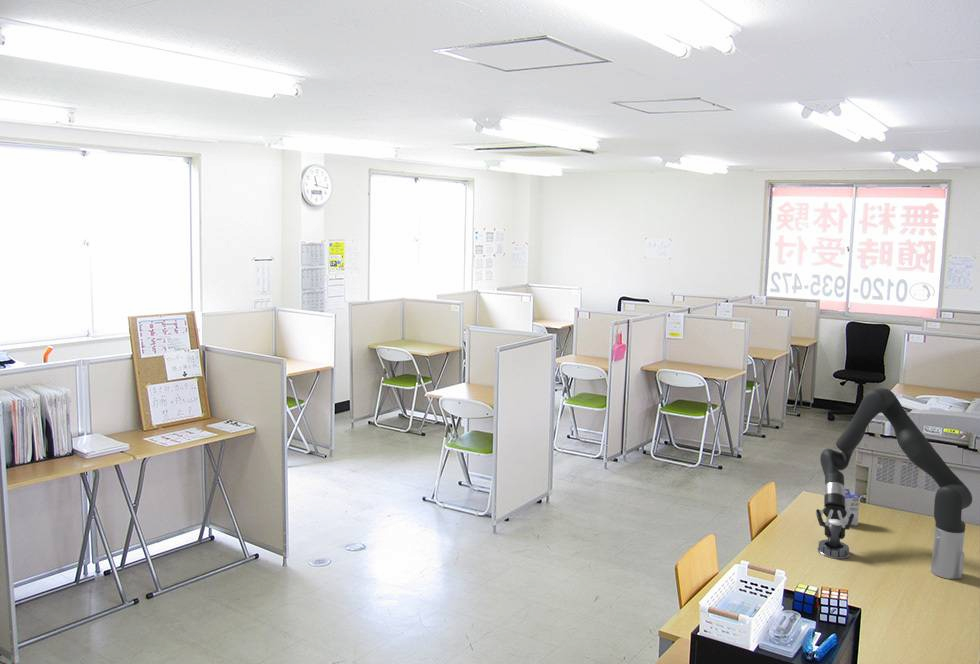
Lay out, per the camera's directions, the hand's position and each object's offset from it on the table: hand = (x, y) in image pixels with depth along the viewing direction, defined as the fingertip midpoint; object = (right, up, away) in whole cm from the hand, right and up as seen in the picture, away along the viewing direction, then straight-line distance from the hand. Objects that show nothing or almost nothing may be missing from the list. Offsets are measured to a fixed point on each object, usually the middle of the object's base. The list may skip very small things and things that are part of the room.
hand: (834, 537), depth 296 cm
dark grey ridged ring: (+1, -7, +3) cm, 7 cm away
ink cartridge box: (+19, -3, +33) cm, 38 cm away
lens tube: (+1, -4, +2) cm, 5 cm away
